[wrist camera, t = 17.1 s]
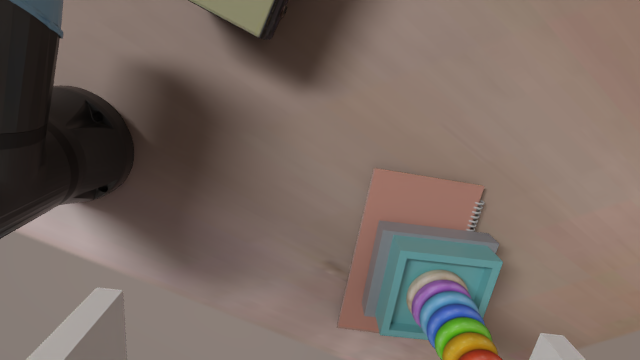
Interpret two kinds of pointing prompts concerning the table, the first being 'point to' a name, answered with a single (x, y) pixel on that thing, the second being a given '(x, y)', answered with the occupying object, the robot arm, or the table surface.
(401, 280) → the brick base
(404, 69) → the table surface
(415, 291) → the stacking toy
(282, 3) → the toy bus
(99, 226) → the table surface
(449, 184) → the notebook
